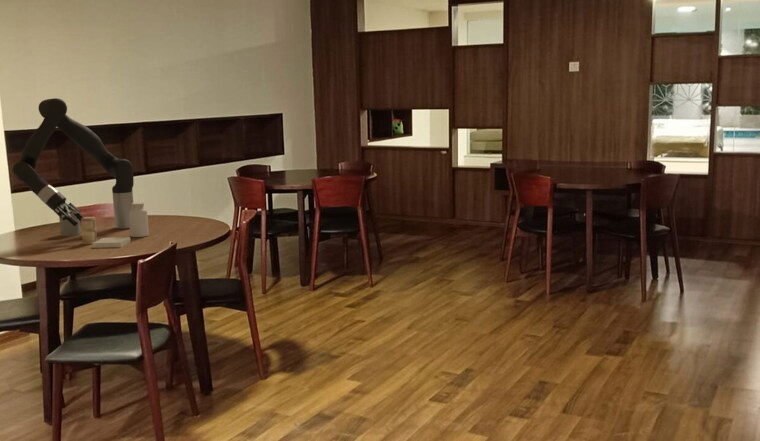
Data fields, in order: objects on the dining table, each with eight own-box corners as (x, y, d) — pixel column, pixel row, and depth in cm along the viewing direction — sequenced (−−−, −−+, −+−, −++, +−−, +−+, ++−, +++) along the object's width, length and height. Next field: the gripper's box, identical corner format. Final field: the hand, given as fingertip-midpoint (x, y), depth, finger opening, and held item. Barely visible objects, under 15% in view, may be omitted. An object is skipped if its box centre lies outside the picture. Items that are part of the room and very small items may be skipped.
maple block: (87, 242, 332) (84, 217, 330) (97, 241, 332) (95, 216, 330) (83, 243, 327) (80, 218, 325) (93, 243, 327) (91, 218, 325)
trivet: (103, 242, 329) (102, 237, 329) (130, 241, 329) (130, 237, 329) (92, 247, 318) (92, 243, 317) (121, 247, 317) (120, 242, 317)
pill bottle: (152, 234, 345) (150, 202, 343) (141, 238, 338) (139, 204, 335) (138, 234, 348) (135, 201, 345) (126, 237, 340) (124, 204, 338)
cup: (73, 236, 346) (71, 215, 345) (57, 236, 348) (55, 214, 346) (84, 233, 354) (82, 212, 353) (68, 233, 356) (66, 212, 354)
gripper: (50, 193, 319) (79, 219, 320) (64, 189, 333) (92, 214, 334) (38, 206, 320) (68, 232, 321) (53, 201, 334) (81, 226, 335)
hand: (80, 223), depth 328 cm, fingers open, 8 cm apart
